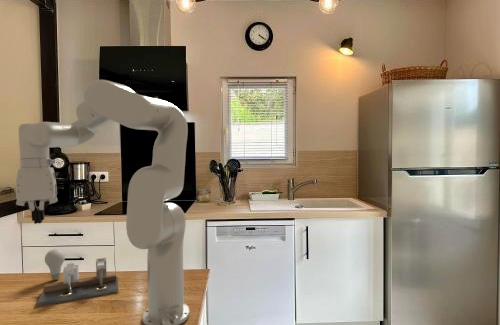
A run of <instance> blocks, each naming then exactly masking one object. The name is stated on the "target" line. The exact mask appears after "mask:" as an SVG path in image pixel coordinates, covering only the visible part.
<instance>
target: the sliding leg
mask: <svg viewBox="0 0 500 325" xmlns="http://www.w3.org/2000/svg"><path fill="white" fill-rule="evenodd" d="M79 272H80V270H79V264H75V263H72V262H71V263H67V265H66V266H63V270H62V276H63V281H64V284H67V283H68V292H71V283H74V282H78V279H80V273H79ZM63 281H62V282H63Z"/></svg>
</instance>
